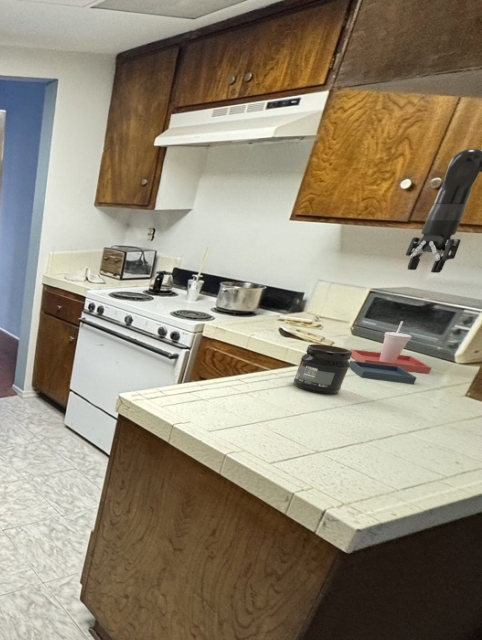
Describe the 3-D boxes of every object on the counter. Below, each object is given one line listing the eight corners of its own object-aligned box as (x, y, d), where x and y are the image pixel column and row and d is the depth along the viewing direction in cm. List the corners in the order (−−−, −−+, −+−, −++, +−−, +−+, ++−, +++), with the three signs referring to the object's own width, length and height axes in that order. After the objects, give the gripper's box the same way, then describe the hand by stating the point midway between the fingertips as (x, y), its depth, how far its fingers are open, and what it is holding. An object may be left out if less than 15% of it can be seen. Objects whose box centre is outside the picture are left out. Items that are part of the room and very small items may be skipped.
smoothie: (388, 359, 162) (405, 319, 157) (405, 365, 156) (423, 324, 151) (368, 358, 163) (385, 319, 157) (384, 364, 157) (402, 323, 151)
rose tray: (408, 361, 162) (411, 356, 161) (428, 373, 150) (431, 367, 149) (348, 354, 169) (350, 349, 168) (363, 365, 157) (365, 359, 156)
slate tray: (396, 372, 151) (399, 366, 150) (413, 384, 141) (416, 377, 140) (347, 366, 156) (350, 360, 155) (361, 377, 146) (363, 370, 145)
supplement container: (335, 386, 137) (350, 347, 133) (342, 397, 129) (358, 356, 125) (290, 379, 143) (303, 341, 138) (294, 389, 135) (308, 349, 130)
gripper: (479, 219, 142) (456, 273, 148) (435, 218, 155) (416, 269, 161) (452, 219, 143) (430, 273, 149) (410, 218, 156) (392, 268, 162)
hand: (423, 271), depth 155 cm, fingers open, 8 cm apart
